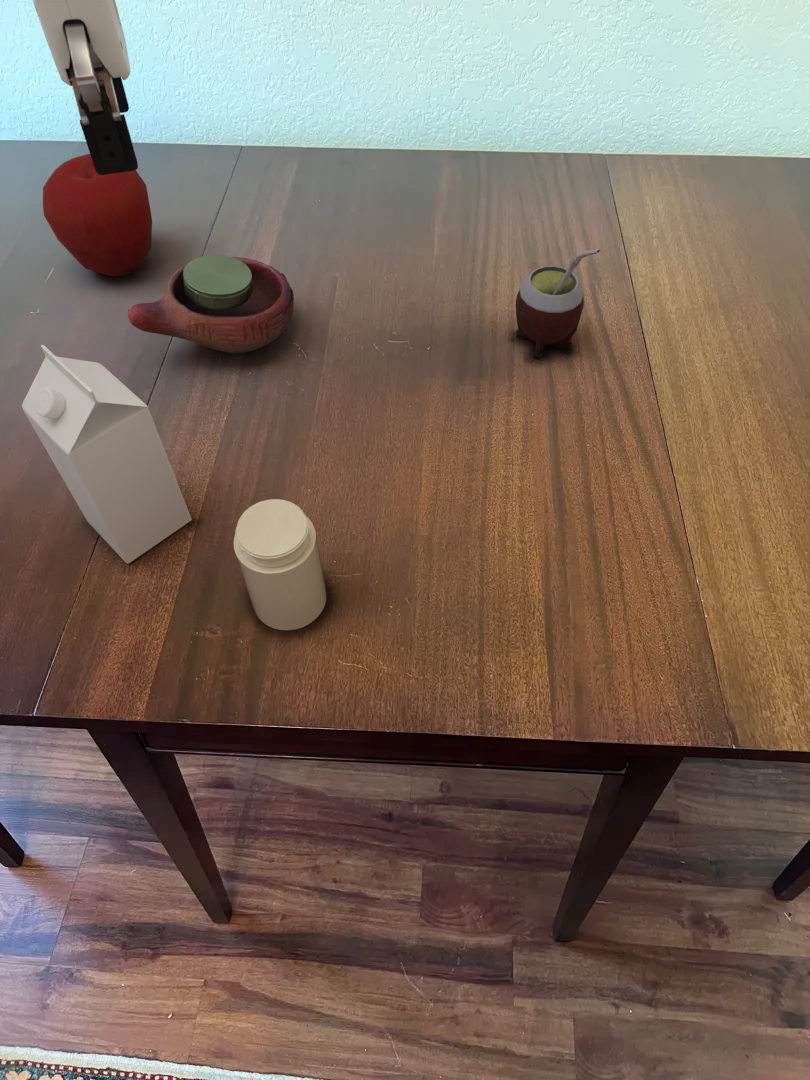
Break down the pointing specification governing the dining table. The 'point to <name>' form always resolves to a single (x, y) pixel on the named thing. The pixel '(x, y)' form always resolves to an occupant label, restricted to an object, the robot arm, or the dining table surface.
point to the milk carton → (106, 453)
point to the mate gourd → (550, 306)
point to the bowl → (221, 313)
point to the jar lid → (217, 282)
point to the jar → (280, 564)
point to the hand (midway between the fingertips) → (114, 140)
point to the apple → (99, 216)
